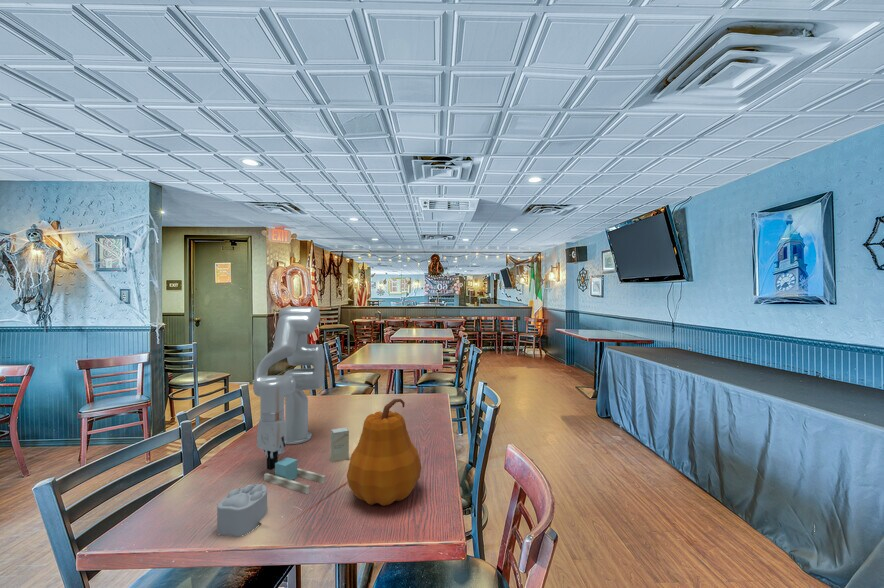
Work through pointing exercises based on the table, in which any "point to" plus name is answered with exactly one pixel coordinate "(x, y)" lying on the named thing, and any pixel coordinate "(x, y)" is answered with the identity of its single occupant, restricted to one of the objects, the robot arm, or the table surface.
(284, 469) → the block
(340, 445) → the skincare box
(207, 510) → the table surface
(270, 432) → the robot arm
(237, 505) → the lumpy-topped squat cylinder
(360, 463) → the decorative pumpkin
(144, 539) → the table surface
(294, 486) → the twin rail frame
